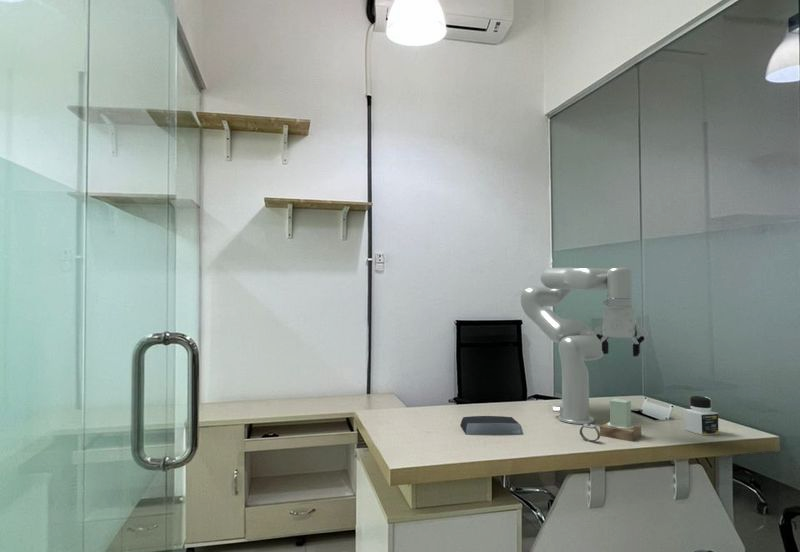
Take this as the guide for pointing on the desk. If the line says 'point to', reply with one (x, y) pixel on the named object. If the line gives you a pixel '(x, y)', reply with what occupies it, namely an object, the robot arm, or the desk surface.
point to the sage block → (620, 412)
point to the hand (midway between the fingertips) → (620, 354)
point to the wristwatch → (591, 428)
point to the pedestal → (620, 431)
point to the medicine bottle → (701, 417)
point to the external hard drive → (490, 425)
